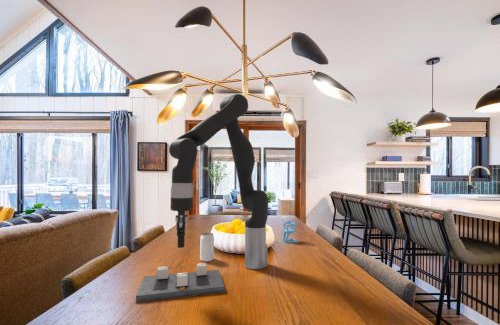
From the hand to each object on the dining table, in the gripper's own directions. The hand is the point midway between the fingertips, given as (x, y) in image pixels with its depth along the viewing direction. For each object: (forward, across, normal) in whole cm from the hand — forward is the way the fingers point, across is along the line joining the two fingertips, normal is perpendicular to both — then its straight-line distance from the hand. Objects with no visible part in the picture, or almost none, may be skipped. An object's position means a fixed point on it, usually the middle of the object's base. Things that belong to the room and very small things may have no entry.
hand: (181, 247), depth 87 cm
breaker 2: (+13, +9, -7) cm, 17 cm away
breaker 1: (+13, +9, +7) cm, 17 cm away
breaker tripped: (+13, +1, -1) cm, 13 cm away
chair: (+15, +55, -62) cm, 84 cm away
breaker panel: (+15, +5, -1) cm, 16 cm away
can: (+15, +33, -11) cm, 38 cm away
